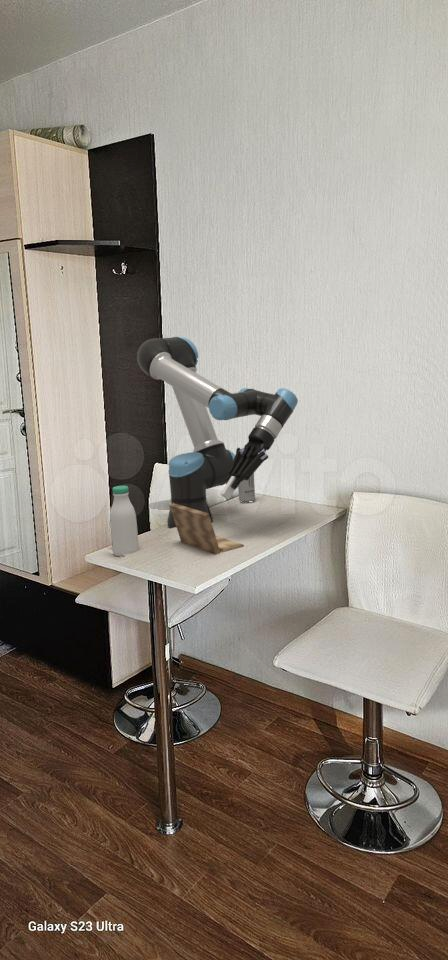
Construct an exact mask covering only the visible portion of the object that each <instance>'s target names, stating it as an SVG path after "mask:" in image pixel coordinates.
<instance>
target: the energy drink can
mask: <svg viewBox="0 0 448 960" xmlns="http://www.w3.org/2000/svg"><path fill="white" fill-rule="evenodd" d="M255 486H256V485H255V472H254V473H253V474H252V475H251V477H250V478H249V479H248V480H243V481H241V482H240V484H239V485H238V487H237V488H238V500H239V501H240V502H241V501H242V502H249V501H253V500H254V501H255V500H256V492H255V491H256V489H255Z"/></svg>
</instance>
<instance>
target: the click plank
mask: <svg viewBox="0 0 448 960" xmlns="http://www.w3.org/2000/svg"><path fill="white" fill-rule="evenodd" d="M170 508H171V511H172V515H173V518H174V521H175V524H176V527H177V528H176V527H175V528H176V529H177V533H178V536H179V539H180V542H182V543H184V544H186V545H187V544H188V545H190V546H192V547H195V548H197V549H201V550H204V551H206V552H210V553H212V554H214V555H219V554H221V552H220V549H219V546H218V543H217V539H216V536H217V535H216V533H215V530H214V526H213V522H212V523H211V520H210V516H209V513H206V512H202V511H199V510H195V509H192V508H188V507H185V506H181V505H178V504H174V503H173V504H171V503H170V504H169V509H170ZM215 535H216V536H215Z"/></svg>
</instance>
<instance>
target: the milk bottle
mask: <svg viewBox="0 0 448 960" xmlns="http://www.w3.org/2000/svg"><path fill="white" fill-rule="evenodd" d="M111 491H112V495H113V501H112V505H111V507H110V512H109V525H110V536H111V537H110V538H111V539H110V540H111V548H112V555H114V556H116V557H125V555H126V554H132V553H136V552H138V551H139V549H140V546H139V544H140V543H139V533H138V524H137V523H138V522H137V513H136V510H135V507H134V506H133V504H132V502H131V500H130V498H129V493H130V492H129V487H128V486H127V485H116V486H114V487H112V490H111Z"/></svg>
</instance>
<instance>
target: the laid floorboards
mask: <svg viewBox="0 0 448 960" xmlns="http://www.w3.org/2000/svg"><path fill="white" fill-rule="evenodd" d="M215 536H216V539H217V543H218V546H219V549H220V554H221V553H222V554H223V553H225V552H228V551H233V550H236V549H240V548H243V547H245V544H243V543H241V542H240V543H239V542H237V541H234V540H231V539H228V538H225V537H221V536H218V535H216V534H215Z"/></svg>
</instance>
